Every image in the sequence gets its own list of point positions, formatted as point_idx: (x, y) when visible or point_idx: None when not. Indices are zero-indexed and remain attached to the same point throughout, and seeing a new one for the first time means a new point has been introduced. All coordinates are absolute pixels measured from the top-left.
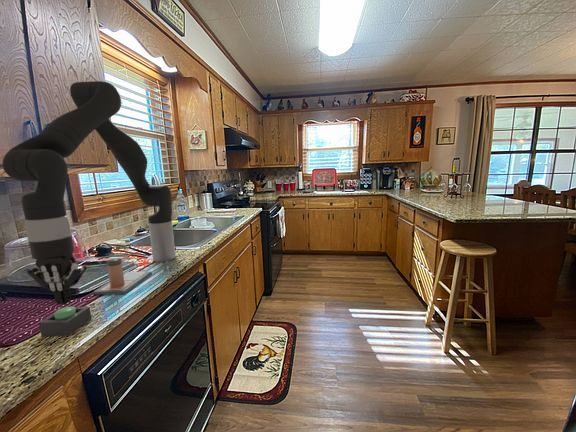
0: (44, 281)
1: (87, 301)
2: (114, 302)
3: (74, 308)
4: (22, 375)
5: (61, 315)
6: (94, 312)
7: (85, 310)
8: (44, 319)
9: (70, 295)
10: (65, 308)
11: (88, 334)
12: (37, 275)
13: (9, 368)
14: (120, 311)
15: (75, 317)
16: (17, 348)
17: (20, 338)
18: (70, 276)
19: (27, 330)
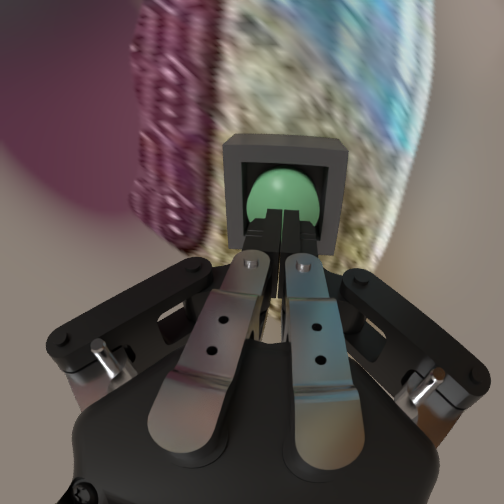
0: (188, 338)
1: (200, 6)
2: (339, 15)
3: (314, 196)
4: None
5: None
6: (309, 85)
7: (345, 174)
8: (230, 232)
9: (315, 236)
10: (269, 192)
11: (379, 223)
12: (139, 370)
13: (275, 313)
14: (412, 96)
15: (338, 221)
16: (223, 262)
17: (184, 225)
18: (391, 389)
19: (162, 191)
